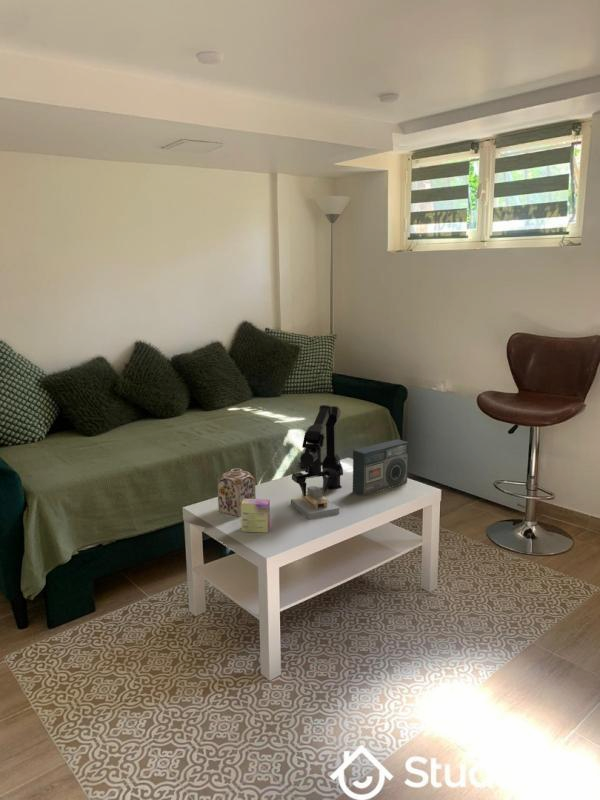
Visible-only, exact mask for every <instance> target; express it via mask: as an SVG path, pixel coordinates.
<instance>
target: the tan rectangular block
mask: <svg viewBox="0 0 600 800" xmlns="http://www.w3.org/2000/svg"><path fill="white" fill-rule="evenodd" d="M301 497H302V500H303V501H304V502H306V503H307V504H308V505H309V506H311V507H312V508H313V509H318V504H320V505H321V506H323V507H324V508H325V507H327V500H328V498H327V497H325V496H324V495H322V497H320V498H312V497H311V496H309V495H308V494H307V490H306V496H305V497H304V495H303V493H302V492H301Z"/></svg>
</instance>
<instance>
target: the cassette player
mask: <svg viewBox="0 0 600 800" xmlns="http://www.w3.org/2000/svg"><path fill="white" fill-rule="evenodd" d="M409 444H410V443H409V441H404V440H401V439H397V438H396V439H392V440H389V441H385V442H380V443H376V444H372V445H369V446H364V447H361V448H360V447H359V448H357V449H353V450H352V492H353V493H354V492H355V494H357V493H358V495H359V494H360V496H362V495H363V496H362V497H365V496H368V495H371V494H374V492H375V493H378V492H381V491H383V489H384V490H387V489H390V488H389V487H391V488H393V487H392V486H394V487H396V486H395V485H397V486H399V485H398V484H400V485H403V484H402V483H404V484H406V482H407V483H408V468H409V467H408V466H409ZM386 488H387V489H386ZM380 490H381V491H380ZM377 491H378V492H377ZM370 493H371V494H370ZM367 494H368V495H367ZM364 495H365V496H364Z"/></svg>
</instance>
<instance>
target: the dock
mask: <svg viewBox="0 0 600 800" xmlns="http://www.w3.org/2000/svg"><path fill="white" fill-rule="evenodd" d="M290 505H291V506H292V507H293V508H294V509H296V510H297V511H298V512H299V513H301V515H303V516H304V517H305V518H306V519H308V520H312V519H319V518H323V517H328V516H334V515H338V514H340V507H339V506H337V505H336V504H334V503H333V502H331V501H330V500H328V499H327V507H325V508H324V507H323V506H321V505H320V504H318V509H313V508H312V507H311V506H309V505H308V504H307V503H306V502H304V501H303V500H302V496H299V497H296V498H295V497H294V498H290Z"/></svg>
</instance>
